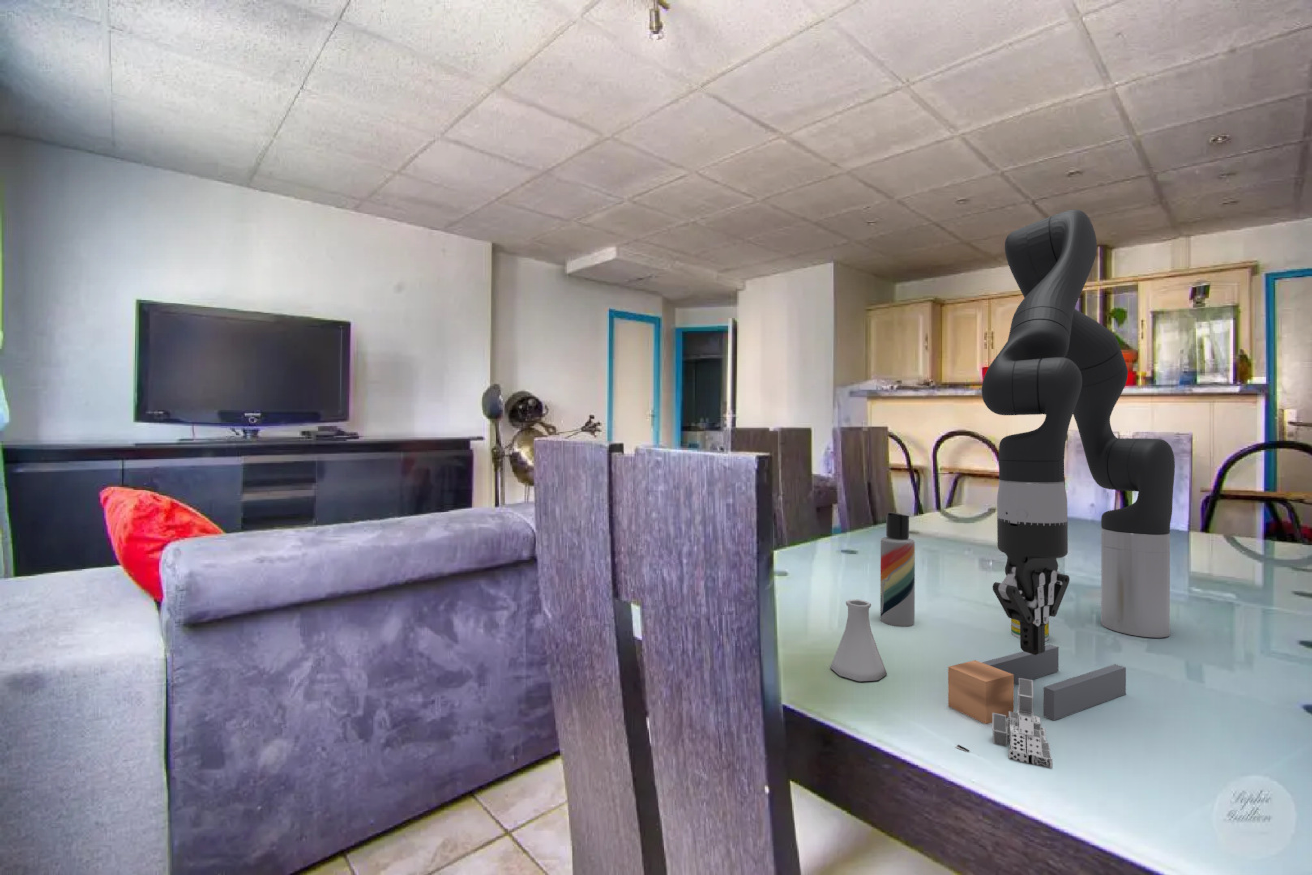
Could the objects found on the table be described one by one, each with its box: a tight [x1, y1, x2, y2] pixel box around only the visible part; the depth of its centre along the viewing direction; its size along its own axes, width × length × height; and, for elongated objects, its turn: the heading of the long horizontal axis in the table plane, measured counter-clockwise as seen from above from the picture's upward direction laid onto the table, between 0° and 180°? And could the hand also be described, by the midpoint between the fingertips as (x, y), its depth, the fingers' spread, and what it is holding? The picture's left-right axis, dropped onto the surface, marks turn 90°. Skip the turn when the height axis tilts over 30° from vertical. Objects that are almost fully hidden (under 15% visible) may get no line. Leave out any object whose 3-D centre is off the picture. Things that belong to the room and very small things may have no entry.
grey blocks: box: [980, 644, 1127, 721], centre depth 76 cm, size 16×9×4 cm, turn 117°
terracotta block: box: [947, 659, 1015, 725], centre depth 71 cm, size 5×5×5 cm
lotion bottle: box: [879, 511, 916, 628], centre depth 104 cm, size 6×6×20 cm
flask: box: [829, 599, 888, 682], centre depth 82 cm, size 7×7×10 cm
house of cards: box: [955, 678, 1053, 769], centre depth 64 cm, size 9×9×8 cm
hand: (1032, 651), depth 74 cm, fingers closed
